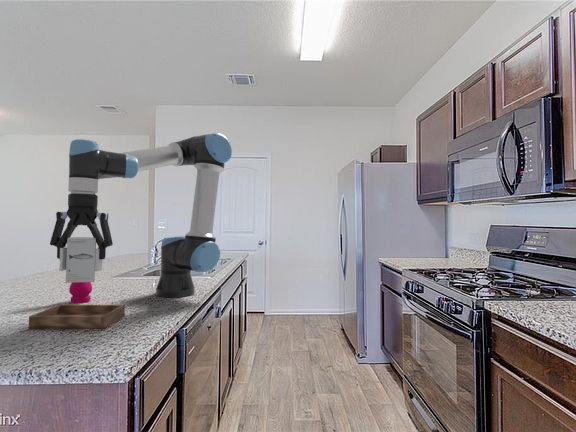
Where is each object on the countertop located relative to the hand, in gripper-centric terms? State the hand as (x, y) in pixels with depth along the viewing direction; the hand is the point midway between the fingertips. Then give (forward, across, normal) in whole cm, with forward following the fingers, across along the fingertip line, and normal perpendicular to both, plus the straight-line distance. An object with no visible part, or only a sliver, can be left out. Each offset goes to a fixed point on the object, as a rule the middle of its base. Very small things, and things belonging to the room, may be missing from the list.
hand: (81, 270), depth 105 cm
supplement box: (+3, 0, 0) cm, 3 cm away
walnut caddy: (+15, 0, 0) cm, 15 cm away
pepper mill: (+15, +13, -26) cm, 33 cm away
